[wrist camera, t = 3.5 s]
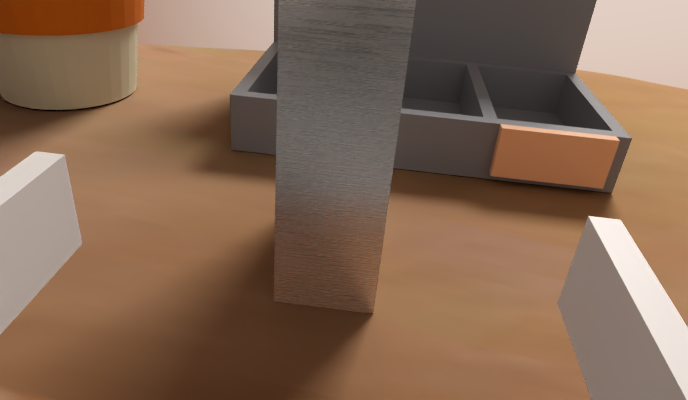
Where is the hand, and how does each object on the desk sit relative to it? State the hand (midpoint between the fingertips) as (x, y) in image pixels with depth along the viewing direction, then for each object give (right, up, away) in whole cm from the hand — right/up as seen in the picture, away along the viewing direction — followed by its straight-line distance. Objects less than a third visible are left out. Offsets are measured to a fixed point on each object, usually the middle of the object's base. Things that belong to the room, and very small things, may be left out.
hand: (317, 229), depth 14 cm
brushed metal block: (0, -2, +11) cm, 11 cm away
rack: (+6, +5, +24) cm, 25 cm away
